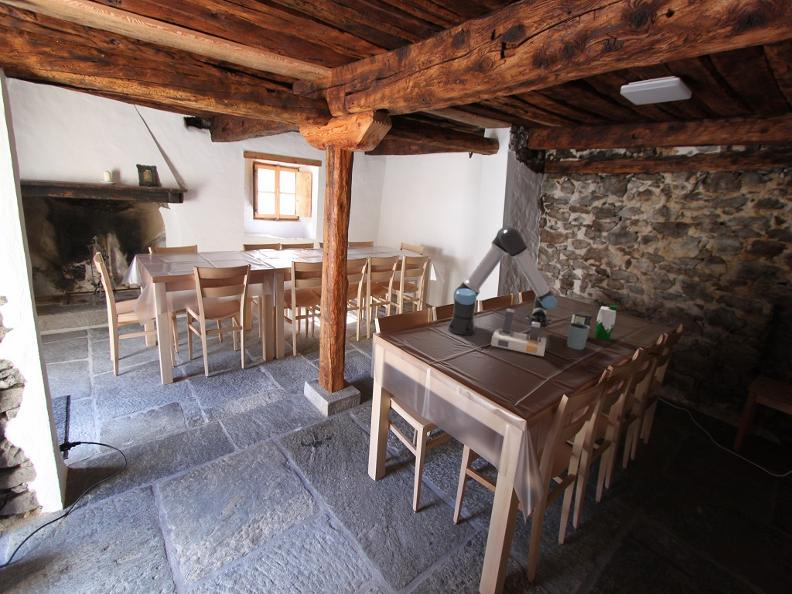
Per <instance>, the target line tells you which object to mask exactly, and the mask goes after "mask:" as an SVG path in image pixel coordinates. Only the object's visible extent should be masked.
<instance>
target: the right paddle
mask: <svg viewBox="0 0 792 594" xmlns="http://www.w3.org/2000/svg"><path fill="white" fill-rule="evenodd" d="M540 324H541V323H537V322H532V325H530V333H529V334H530V339H531V340H536V341H538V337H539V336H540V335H539V334H540V329H541V328H540Z"/></svg>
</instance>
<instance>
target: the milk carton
mask: <svg viewBox="0 0 792 594" xmlns="http://www.w3.org/2000/svg"><path fill="white" fill-rule="evenodd" d="M617 312H618V305H614V304H609V307H608V306H604V305H602V306H601V307H600V309H599V312H598V314H597V319H596V323H595V326H594V327H595V328H594V339H597V338H598V340H601V339H603V340H602V341H606V340H607V342H609V341H610V339H611V336H612V333H613V331H614V326H615V322H616V316H617Z"/></svg>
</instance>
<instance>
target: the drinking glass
mask: <svg viewBox="0 0 792 594" xmlns="http://www.w3.org/2000/svg"><path fill="white" fill-rule="evenodd" d="M590 327H591V326H590ZM590 327H589V326H587V325H584V324H580V323H571V322H570V323H569V324H568V332H567V343H566V346H567V347H568V348H571V349H574V350H578V351H579V350H580V351H582V350H584V349H585V346H586V342H587V339H588V338H587V336H588V337H589V333H588V332H590Z"/></svg>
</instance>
